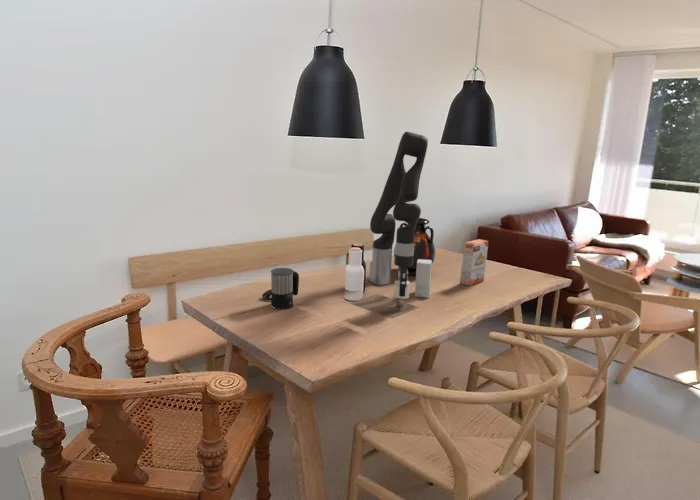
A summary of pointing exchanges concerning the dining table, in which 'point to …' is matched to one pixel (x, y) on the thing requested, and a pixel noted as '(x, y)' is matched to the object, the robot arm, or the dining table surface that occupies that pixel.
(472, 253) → the cracker box
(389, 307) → the post board
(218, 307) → the dining table surface
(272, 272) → the milk frother
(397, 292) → the cap
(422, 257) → the amphora vase
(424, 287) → the skincare box
